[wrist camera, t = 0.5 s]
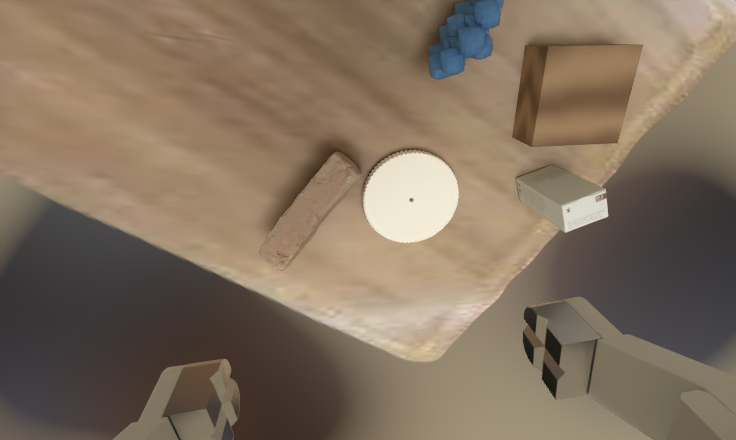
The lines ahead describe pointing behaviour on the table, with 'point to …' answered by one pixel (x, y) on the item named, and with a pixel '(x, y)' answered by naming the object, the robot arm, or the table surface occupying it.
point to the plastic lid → (410, 196)
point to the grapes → (464, 37)
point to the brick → (309, 210)
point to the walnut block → (574, 93)
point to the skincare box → (562, 197)
